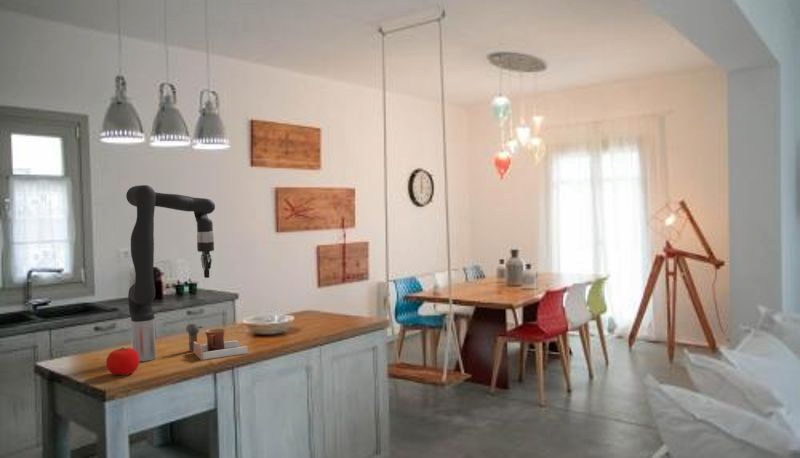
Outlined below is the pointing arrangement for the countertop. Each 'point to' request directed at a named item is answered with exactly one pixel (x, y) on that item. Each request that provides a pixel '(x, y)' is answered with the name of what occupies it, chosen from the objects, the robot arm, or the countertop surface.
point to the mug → (215, 339)
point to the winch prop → (192, 334)
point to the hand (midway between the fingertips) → (206, 277)
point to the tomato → (122, 361)
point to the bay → (203, 355)
